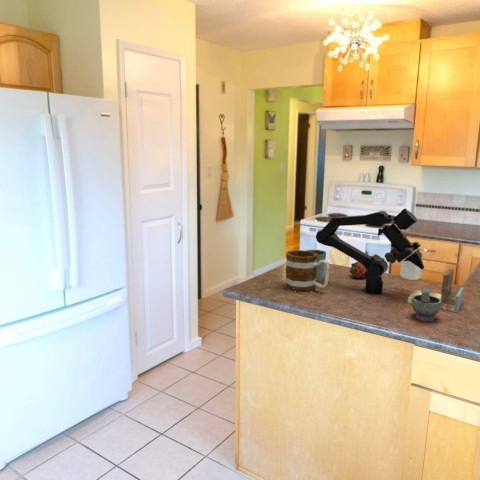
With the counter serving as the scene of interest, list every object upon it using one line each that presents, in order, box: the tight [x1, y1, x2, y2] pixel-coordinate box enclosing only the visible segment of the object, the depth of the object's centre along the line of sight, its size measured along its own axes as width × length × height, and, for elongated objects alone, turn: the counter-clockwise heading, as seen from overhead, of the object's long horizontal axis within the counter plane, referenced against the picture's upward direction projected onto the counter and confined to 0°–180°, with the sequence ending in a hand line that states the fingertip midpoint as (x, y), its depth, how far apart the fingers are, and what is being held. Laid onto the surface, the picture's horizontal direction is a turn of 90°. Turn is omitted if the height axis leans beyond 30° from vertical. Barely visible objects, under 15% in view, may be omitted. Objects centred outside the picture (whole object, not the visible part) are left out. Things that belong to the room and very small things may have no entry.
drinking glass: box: [305, 249, 327, 280], centre depth 199 cm, size 10×10×12 cm
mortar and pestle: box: [410, 287, 442, 322], centre depth 150 cm, size 11×9×12 cm
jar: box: [399, 251, 423, 281], centre depth 199 cm, size 9×8×12 cm
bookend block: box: [440, 268, 458, 305], centre depth 162 cm, size 5×10×11 cm, turn 146°
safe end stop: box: [453, 286, 465, 313], centre depth 161 cm, size 1×13×6 cm, turn 146°
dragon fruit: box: [349, 261, 368, 279], centre depth 200 cm, size 8×8×12 cm
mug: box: [284, 249, 330, 293], centre depth 181 cm, size 20×14×15 cm
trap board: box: [407, 289, 455, 312], centre depth 167 cm, size 16×12×2 cm
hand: (423, 268), depth 167 cm, fingers closed
